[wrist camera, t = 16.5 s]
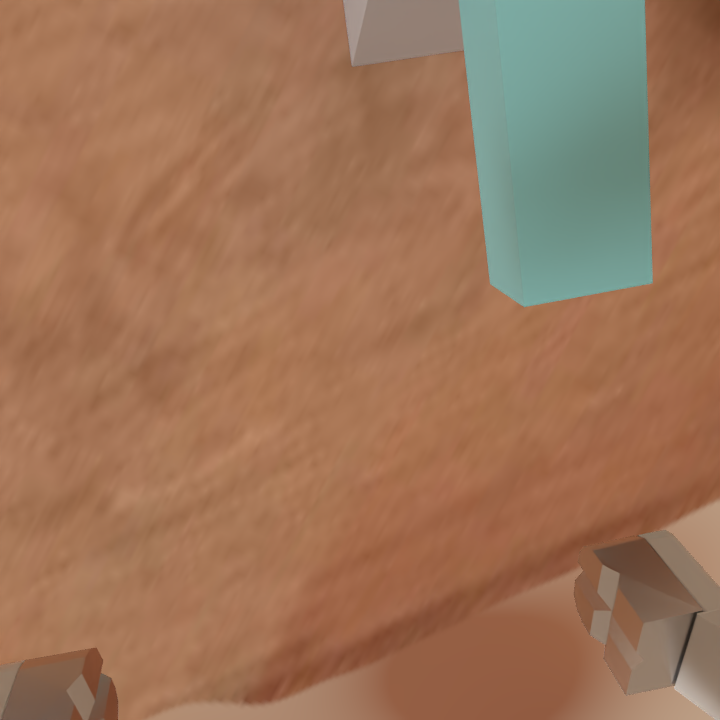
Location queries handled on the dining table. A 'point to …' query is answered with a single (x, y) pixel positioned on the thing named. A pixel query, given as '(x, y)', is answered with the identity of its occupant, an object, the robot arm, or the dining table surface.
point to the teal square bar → (561, 144)
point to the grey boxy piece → (401, 29)
